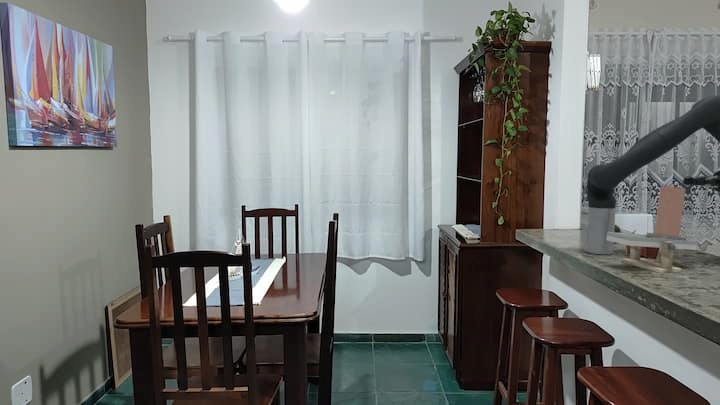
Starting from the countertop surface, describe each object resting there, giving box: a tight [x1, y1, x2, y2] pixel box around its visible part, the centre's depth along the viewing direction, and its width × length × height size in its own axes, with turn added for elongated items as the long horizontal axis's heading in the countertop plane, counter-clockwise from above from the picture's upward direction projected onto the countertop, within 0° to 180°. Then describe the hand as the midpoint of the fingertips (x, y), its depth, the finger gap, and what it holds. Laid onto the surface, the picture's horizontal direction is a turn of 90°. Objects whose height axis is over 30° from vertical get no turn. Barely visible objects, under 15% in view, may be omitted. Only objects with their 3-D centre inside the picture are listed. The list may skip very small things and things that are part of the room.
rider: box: [646, 185, 687, 241], centre depth 164 cm, size 8×8×18 cm
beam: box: [606, 232, 699, 251], centre depth 163 cm, size 26×10×3 cm, turn 103°
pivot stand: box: [620, 241, 683, 274], centre depth 163 cm, size 8×18×9 cm, turn 12°
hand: (689, 181), depth 165 cm, fingers open, 3 cm apart
